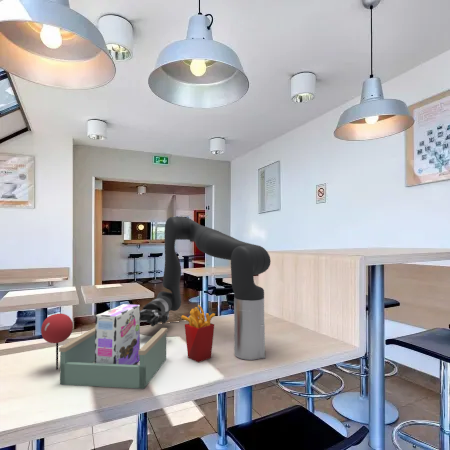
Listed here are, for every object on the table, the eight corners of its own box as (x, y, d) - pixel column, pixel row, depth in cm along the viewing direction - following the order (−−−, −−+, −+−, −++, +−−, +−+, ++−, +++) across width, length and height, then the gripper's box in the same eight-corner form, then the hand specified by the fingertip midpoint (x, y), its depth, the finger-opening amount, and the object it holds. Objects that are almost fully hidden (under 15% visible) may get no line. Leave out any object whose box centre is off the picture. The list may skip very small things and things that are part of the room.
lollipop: (42, 366, 88) (43, 312, 88) (72, 361, 91) (73, 309, 91) (38, 377, 81) (39, 318, 81) (71, 372, 84) (72, 315, 84)
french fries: (215, 357, 93) (215, 307, 94) (193, 365, 88) (193, 311, 88) (196, 350, 100) (196, 302, 100) (175, 357, 94) (175, 306, 94)
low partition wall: (167, 358, 93) (167, 328, 93) (144, 389, 74) (144, 350, 75) (97, 355, 95) (97, 325, 95) (58, 384, 77) (59, 347, 77)
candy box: (114, 382, 78) (115, 315, 78) (93, 380, 79) (94, 314, 80) (140, 360, 91) (140, 303, 92) (122, 359, 93) (122, 303, 93)
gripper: (137, 299, 117) (117, 310, 101) (174, 300, 116) (161, 311, 99) (137, 320, 117) (117, 333, 101) (174, 321, 115) (160, 335, 99)
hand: (139, 322), depth 100 cm, fingers open, 8 cm apart
